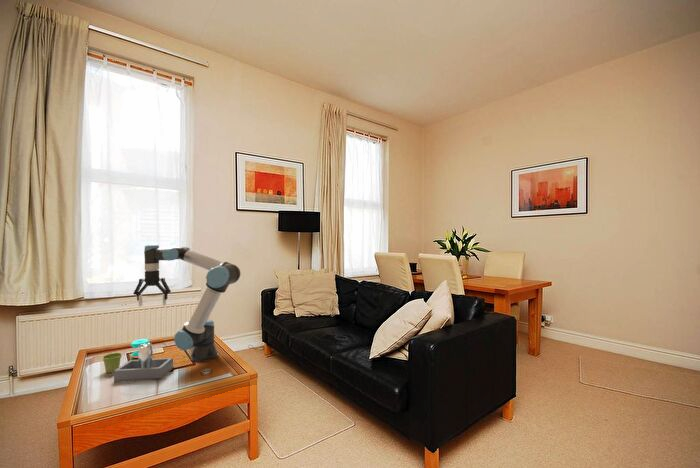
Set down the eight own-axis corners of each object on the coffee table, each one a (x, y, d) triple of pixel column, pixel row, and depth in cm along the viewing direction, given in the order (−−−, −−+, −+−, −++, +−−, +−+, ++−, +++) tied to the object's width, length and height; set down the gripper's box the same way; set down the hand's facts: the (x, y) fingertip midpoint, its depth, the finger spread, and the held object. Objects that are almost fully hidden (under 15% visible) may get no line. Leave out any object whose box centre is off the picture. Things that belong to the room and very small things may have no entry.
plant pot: (126, 368, 191) (126, 353, 191) (109, 375, 182) (109, 359, 182) (114, 366, 194) (114, 352, 194) (98, 373, 185) (98, 357, 185)
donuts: (135, 344, 204) (128, 341, 210) (135, 360, 204) (128, 357, 209) (152, 340, 212) (145, 337, 218) (152, 355, 212) (145, 352, 218)
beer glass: (142, 370, 184) (142, 343, 185) (155, 369, 185) (155, 343, 185) (135, 375, 178) (135, 347, 178) (149, 375, 178) (148, 347, 178)
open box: (173, 368, 190) (172, 357, 190) (160, 379, 175) (160, 368, 175) (130, 370, 188) (130, 360, 188) (113, 382, 173) (113, 370, 173)
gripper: (176, 269, 204) (176, 303, 204) (133, 270, 201) (133, 305, 201) (171, 270, 197) (171, 305, 197) (126, 271, 194) (126, 307, 194)
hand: (152, 305), depth 199 cm, fingers open, 13 cm apart
